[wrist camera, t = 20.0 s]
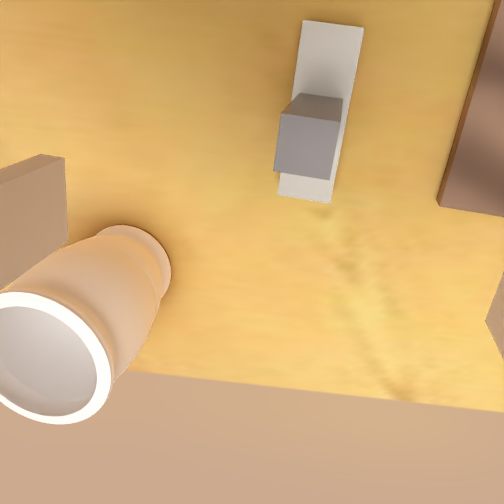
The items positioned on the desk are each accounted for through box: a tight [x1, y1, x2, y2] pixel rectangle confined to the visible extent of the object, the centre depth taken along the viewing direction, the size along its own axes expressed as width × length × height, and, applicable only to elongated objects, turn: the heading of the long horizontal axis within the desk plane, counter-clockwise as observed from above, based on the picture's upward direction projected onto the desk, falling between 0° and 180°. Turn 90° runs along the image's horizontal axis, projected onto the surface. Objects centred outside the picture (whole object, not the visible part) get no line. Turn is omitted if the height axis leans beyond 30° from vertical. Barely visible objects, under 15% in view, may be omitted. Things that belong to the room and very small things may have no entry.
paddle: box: [273, 20, 365, 204], centre depth 30 cm, size 12×4×13 cm, turn 173°
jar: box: [0, 225, 171, 424], centre depth 38 cm, size 11×10×15 cm
